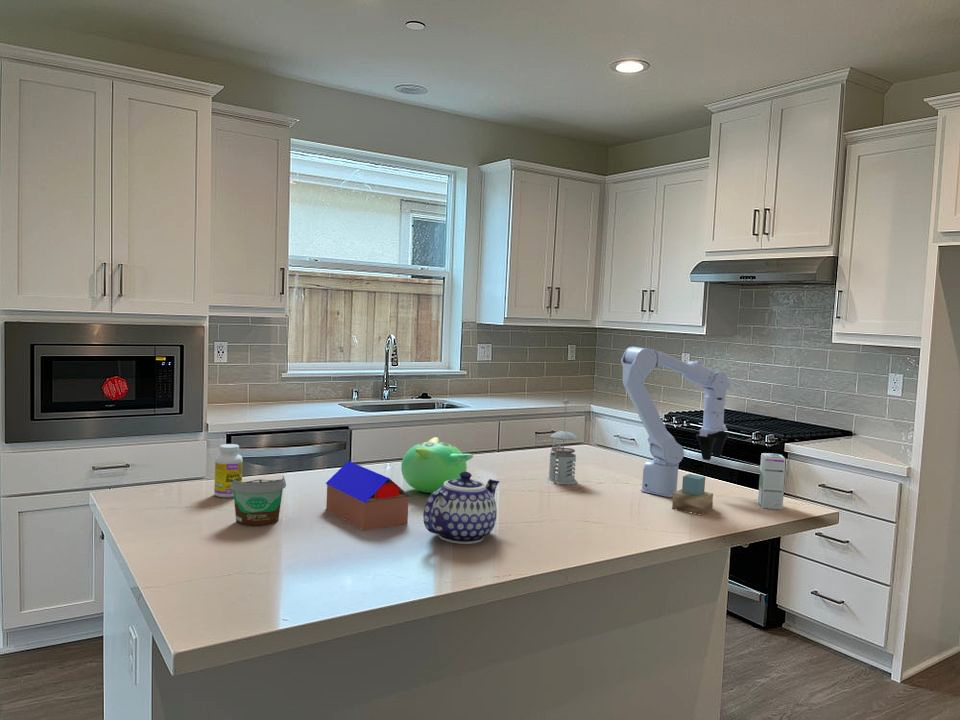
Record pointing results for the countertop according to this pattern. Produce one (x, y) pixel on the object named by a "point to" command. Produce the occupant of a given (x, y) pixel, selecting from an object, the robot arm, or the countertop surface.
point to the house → (366, 498)
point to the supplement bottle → (227, 470)
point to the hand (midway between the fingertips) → (711, 457)
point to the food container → (257, 501)
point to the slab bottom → (692, 508)
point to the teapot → (462, 510)
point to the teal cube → (693, 484)
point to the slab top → (693, 499)
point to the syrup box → (771, 481)
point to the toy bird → (433, 465)
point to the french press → (562, 458)
